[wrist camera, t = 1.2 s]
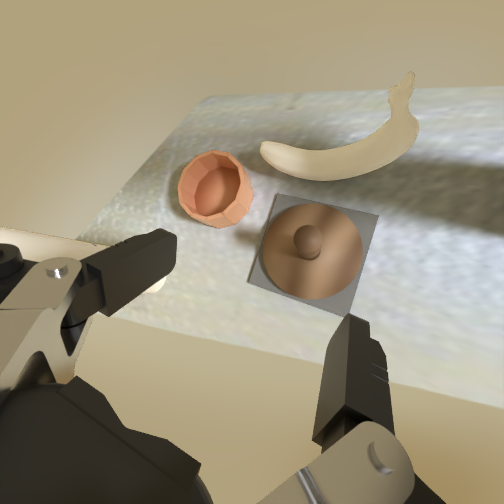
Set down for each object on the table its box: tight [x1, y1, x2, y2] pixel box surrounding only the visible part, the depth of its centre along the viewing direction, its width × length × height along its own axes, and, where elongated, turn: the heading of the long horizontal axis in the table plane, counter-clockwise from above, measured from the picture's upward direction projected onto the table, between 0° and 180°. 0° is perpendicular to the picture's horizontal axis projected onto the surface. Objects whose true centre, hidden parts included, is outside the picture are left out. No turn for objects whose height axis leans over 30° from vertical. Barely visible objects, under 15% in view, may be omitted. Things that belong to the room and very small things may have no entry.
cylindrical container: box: [0, 227, 167, 294], centre depth 30 cm, size 7×7×25 cm
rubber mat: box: [249, 194, 379, 317], centre depth 34 cm, size 15×15×1 cm
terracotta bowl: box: [177, 150, 254, 229], centre depth 37 cm, size 11×11×5 cm
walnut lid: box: [263, 204, 363, 299], centre depth 29 cm, size 14×14×10 cm
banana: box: [260, 71, 419, 181], centre depth 29 cm, size 5×19×15 cm, turn 85°
